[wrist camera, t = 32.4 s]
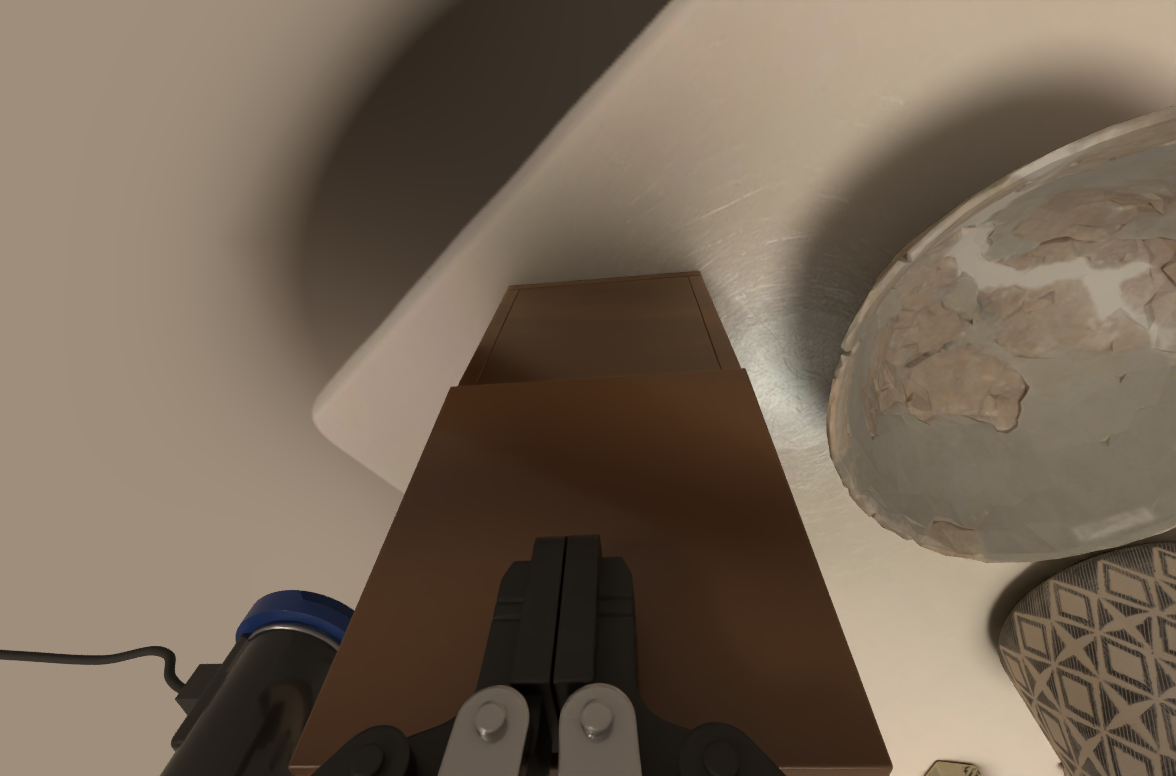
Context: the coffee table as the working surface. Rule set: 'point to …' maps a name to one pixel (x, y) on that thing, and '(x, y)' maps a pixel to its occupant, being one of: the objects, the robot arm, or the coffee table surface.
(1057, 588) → the planter
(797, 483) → the coffee table surface
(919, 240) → the ceramic bowl
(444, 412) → the lid
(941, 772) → the box
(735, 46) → the coffee table surface
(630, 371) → the chest
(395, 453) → the coffee table surface
